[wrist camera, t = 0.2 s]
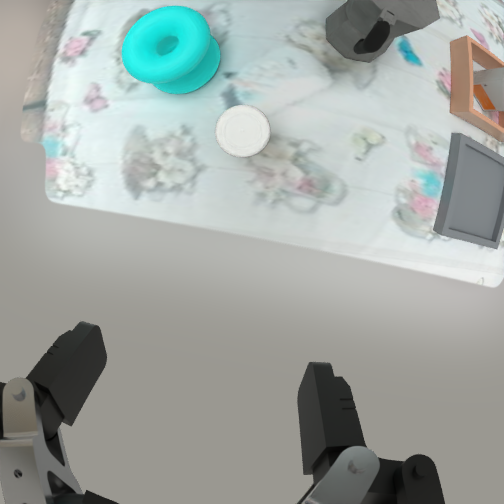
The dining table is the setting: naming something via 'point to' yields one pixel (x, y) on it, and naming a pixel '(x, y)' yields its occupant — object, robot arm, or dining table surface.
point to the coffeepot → (376, 25)
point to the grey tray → (472, 194)
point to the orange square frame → (471, 84)
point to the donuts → (171, 50)
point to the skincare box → (489, 89)
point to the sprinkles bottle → (242, 131)
